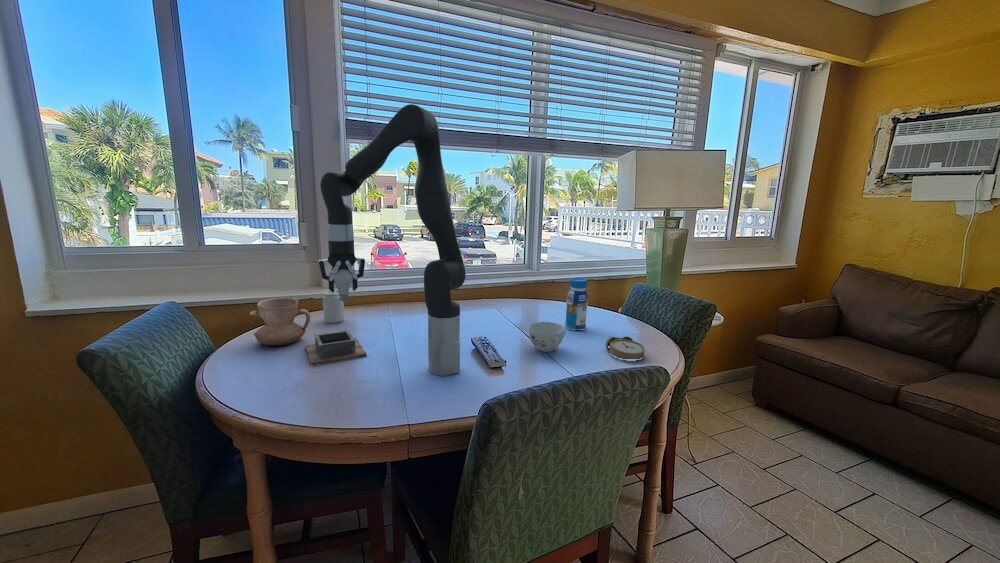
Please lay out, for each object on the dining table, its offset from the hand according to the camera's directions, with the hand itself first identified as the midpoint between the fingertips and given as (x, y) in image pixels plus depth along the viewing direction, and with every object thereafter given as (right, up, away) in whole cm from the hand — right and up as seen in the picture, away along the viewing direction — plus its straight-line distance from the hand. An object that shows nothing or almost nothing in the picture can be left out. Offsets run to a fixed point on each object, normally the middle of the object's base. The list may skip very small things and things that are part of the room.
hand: (343, 290), depth 128 cm
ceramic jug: (-25, -18, +10) cm, 32 cm away
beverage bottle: (+80, -16, +33) cm, 88 cm away
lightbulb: (0, -4, +1) cm, 4 cm away
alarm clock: (+92, -22, +8) cm, 95 cm away
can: (-16, -13, +33) cm, 39 cm away
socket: (-3, -20, +2) cm, 20 cm away
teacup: (+66, -21, +8) cm, 70 cm away
